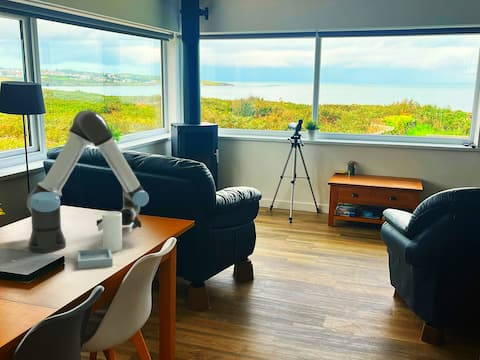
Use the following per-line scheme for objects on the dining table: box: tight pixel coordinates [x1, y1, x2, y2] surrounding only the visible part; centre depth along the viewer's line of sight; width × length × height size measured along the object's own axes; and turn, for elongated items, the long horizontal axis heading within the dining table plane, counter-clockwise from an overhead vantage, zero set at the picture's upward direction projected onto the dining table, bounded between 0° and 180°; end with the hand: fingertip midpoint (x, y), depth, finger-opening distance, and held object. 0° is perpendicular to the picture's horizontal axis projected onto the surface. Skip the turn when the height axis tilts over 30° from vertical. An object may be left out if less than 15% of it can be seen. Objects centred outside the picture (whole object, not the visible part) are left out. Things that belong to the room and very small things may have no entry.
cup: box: [101, 210, 123, 253], centre depth 203 cm, size 8×8×16 cm
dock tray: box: [77, 247, 114, 269], centre depth 188 cm, size 13×13×3 cm
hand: (114, 228), depth 203 cm, fingers open, 13 cm apart
